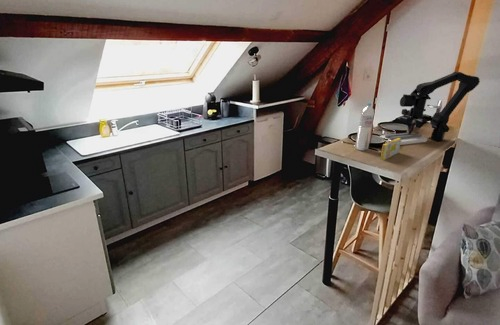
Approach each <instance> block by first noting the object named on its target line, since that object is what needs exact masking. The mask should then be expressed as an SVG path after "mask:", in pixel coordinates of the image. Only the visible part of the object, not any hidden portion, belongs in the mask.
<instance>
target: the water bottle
mask: <svg viewBox="0 0 500 325" xmlns="http://www.w3.org/2000/svg"><path fill="white" fill-rule="evenodd" d="M375 115H376V111H375V109H374V108H373V107H372V103H367V106H365V107H364V108H362V109H361V111H360V116H359V117H360V118H359V123H358V128H357V132H356V133H357V134H356V138H355V139H356V141H355V144H354V145H355V146H354V148H355V150H357V151H361V152H366V151H368V150H369V146H370V143H369V141H370V136H371V131H372V125H373V126H374V118H375Z"/></svg>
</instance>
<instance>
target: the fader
mask: <svg viewBox="0 0 500 325" xmlns="http://www.w3.org/2000/svg"><path fill="white" fill-rule="evenodd" d="M415 126H416V125H415ZM415 126H414V128H413V130H412V132H411V133H410V135H412V134H413V135H414V134H420V130H421V128H418V127H415ZM406 133H409V131H408V127H407V129H406Z"/></svg>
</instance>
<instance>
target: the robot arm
mask: <svg viewBox="0 0 500 325" xmlns="http://www.w3.org/2000/svg"><path fill="white" fill-rule="evenodd" d="M456 81H458V82H459V84H458V88H457V90H456V91H455V93H454V94H453V95H452V97H451V98H450V99H449V101H448V102H447V103H446V104H445V105H444V107H443V108H442V110H441V111H439V112H434V114H433V115H430V114H426V113H425V114H424V112H426V110H427V109H426V108H425V107H426V103H427V100H432V98H431V97H430V94H432V93H434V91H435V90H437V89H439V88H441V87H444V86H446V85H449V84H451V83H454V82H456ZM480 82H481V81H480V78H479V77H478V76H475V75H470V74H465V73H463V72H462V71H461V72H460V71H457V70H455V71H454V72H452V73H450V74H447V75H445V76H442V77H439V78H437V79H435V80H433V81H427V82H422V83H419V84H417V86H416V87H415V88H414V89H413V91H412V92H411V93H410V94H406V93H405V94H403V95H402V97H401V98H400V100H399V106H400V107H408V108H409V107H410V109H407V108H403V109H402V110H401V115H402V116H400V117H399V122H401V123H404V124H406V125H407V128H408V131H409V133H411V132H412V130H413V128H414V126H415V127H418V128H420V129H421V128H422V127H423V126H424V125H425V124H426V123H427V122H430V125H431V129H433V130H432V132H431V135H430V136H429V137H428V139H429V140H432V141H434V142H437V143H438V142H445V141H446V139H444V138H445V135H446V133H448V132H449V131H450V127H449V126H448V125H447V124H448V123H449V121H450V116H451V115H452V113H453V112H454V111H455V109H456V108H457V107H458V105H460V103H461V102H462V100H463V99H464V97H465V96H466V95H468V93H470V92H472V91H474V89H475V88H476V87H478V86H479V84H480Z"/></svg>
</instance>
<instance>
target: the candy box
mask: <svg viewBox="0 0 500 325" xmlns="http://www.w3.org/2000/svg"><path fill="white" fill-rule="evenodd" d="M400 143H401V138H397V139H394V140H392V141H390V142H387V143H386V142H384V143H383V144H382V147H381V152H380V153H381V154H380V160H381V161H385V160H387V159H389V158H392V157H393V156H395V155H397V154H400V153H399V152H400V148H401V145H400Z"/></svg>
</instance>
